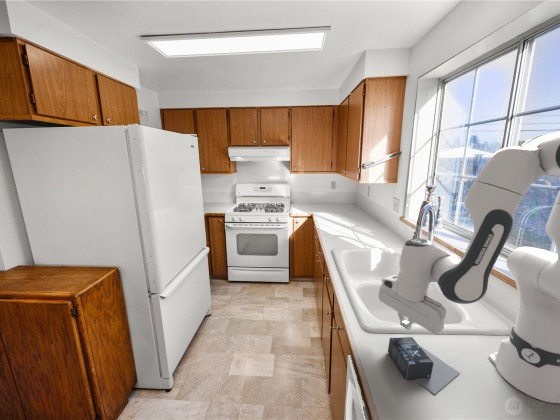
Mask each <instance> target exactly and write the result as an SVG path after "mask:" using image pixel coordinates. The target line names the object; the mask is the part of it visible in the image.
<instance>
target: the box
mask: <svg viewBox="0 0 560 420" xmlns="http://www.w3.org/2000/svg"><path fill="white" fill-rule="evenodd" d="M421 347H422V346H421ZM421 347H420V345H419V344H418V342H417V341H416V340H415V339H414V338H413V336H411V337H410V336H408V337H406V336H405V337H389V341H388V347H387V352H388V355H390V356H389V357H391V359H392V360H393V362H394V363H395V365H396V367H397V368H398V370H399V371H400V373H401V374H402V376H403V377H404V379H405V380H415V379H418V378H431V373H432V369H433V362H432V361H431V359H430V358H429V357H428V356H427V355H426V353H425V352H424V351H423V350H422V349H421Z"/></svg>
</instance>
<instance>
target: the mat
mask: <svg viewBox="0 0 560 420" xmlns="http://www.w3.org/2000/svg"><path fill="white" fill-rule="evenodd" d="M419 346H420V345H419ZM420 347H421V349H422V350H423V351H424V352H425V353H426V355H427V356H428V357H429V358H430V359H431V361H432V362H433V369H432V373H431V378H418V379H414V380H415V381H416V382H418V383H419V384H420V385H421V386H423V387H424V388H425V389H426V390H427V391H429V392H430V393H431V394H432V395H434V396H436V394H438V393H439V392H440V391H442V390H443V389H444V388H445V387H446V386H447V385H449V383H451V382H452V381H453V380H455V378H457V376H459V375H460V374H461V372H459V371H458V370H456V369H455V368H453V367H452V366H451V365H449V364H448V363H446V362H444V361H443V360H442V359H441V358H439V357H438V356H436V355H434V354H433V353H432V352H430V351H428V350H427V349H425V348H424V347H423V346H420Z"/></svg>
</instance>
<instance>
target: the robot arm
mask: <svg viewBox="0 0 560 420" xmlns="http://www.w3.org/2000/svg"><path fill="white" fill-rule="evenodd" d="M542 176H548V177H557V179H558V182H560V131H558V132H557V131H556V132H553V133H549V134H543V135H539V136H535V137H533V138H531V139H528V140H527V141H526V142H524V143H522V144H521V145H520V146H508V147H503V148H501V149H499V150H497V151H496V152H495V153H494V154H493V155H492V156H491V157H490V158H489V159H488V161H487V162H486V163H485V164H484V165H483V167H482V168H481V170H480V171H479V172H478V174H477V176H476V178H475V179H474V180H473V182H472V184H471V186H470V188H469V189H468V192H467V194H466V197H465V201H464V205H465V208H466V211H467V212H468V214H469V216H470V218H471V219H472V223H473V229H474V230H473V235H472V237H471V239H470V241H469V244H468V246H467V247H466V249H465V252H464V253H463V256H462V257H460V256H459V255H457V254H456V253H455V252H452V251H449V250H446V249H443V248H441V247H439V246H438V245H436V244H435V243H434V242H433V241H431V240H429V239H426V238H411V239H408V240H407V241H406V242H405V243H404V244H403V247H402V250H401V253H400V257H399V263H398V266H399V272H398V274H391V275H388V276H385V277H384V278H382V279H381V285H380V286H379V290H378V295H377V297H378V299H379V301H380V302H381V303H382V304H384V305H386V306H388V307H390V308H391V309H393V310H394V311H396V312H397V316H398V320H399V326H401V327H402V328H404V329H406V330H407V331H410V330H411V329H412V326H413V324H414V323H415V324H417V325H418V326H420V327H422V328H424V329H425V330H427V332H430V333H432V334H434V335H436V334H440V333H441V332H443V330H444V329H445V328H444V327H445V319H446V315H447V310H446V308H445V307H444V305H443V304H442V303H441V302H439V301H436V300H435V299H433V298H431V297H429V296H428V293H429V288H430V284H431V282H432V283H436V284H437V285H438V287H439V289H440V291H441V293H442V295H443V296H444V298H446V299H447V300H449V301H450V302H453V303H455V304H459V305H468V304H473V303H476V302H479V301H480V300H481V299H482V298H483V297H484V296H485V295H486V293H487V290H488V285H489V278H490V274H491V272H492V270H493V269H494V266H495V264H496V262H497V260H498V258H499V256H500V254H501V252H502V250H503V249H504V246H505V244H506V242H507V240H508V238H509V235H510V234H511V232H512V227H513V224H514V221H513V220H514V217H515V215H516V211H517V209H518V207H519V206H520V204H521V202H522V201H523V199H524V197H525V196H526V194H527V192H528V191H529V189H530V187H531V185H533V184H534V182H535V181H536V180H538V179H539V178H541V177H542ZM545 232H546V235H547V236H548V237H549V238H550V239H551V241H552V242H553V243H554V245H555V248H556V253H555V252H552V251H549V250H548V249H543V248H539V247H538V248H537V247H533V246H532V247H531V246H520V247H517V248H515V249H513V250H512V251H511V252H510V253H509V255H508V256H507V259H506V267H507V269H508V271H509V273H511V275H512V277H513V279H514V281H515V285H516V289H517V295H518V311H517V316H516V319H515V324H514V326H513V327H512V328H511V330H510V332H509V337H508V338H505V339H502V340H501V341H500V344H499V347H498V350H497V351H495V352H493V353H490V354H489V355H488V359H489V360H490V361H491V363H492V364H493V365H495V367H496V370H497V371H498V373H499V374H500V376H501V377H502V378H503V379H504V380H506V382H507V383H509V384H510V385H511V386H513V387H514V388H515V389H517V390H519V391H521V392H522V393H525V394H526V395H527V396H529V397H532V398H534V399H537V400H540V401H542V402H546V403H553V404H560V190H559V191H558V193H557V196H556V198H555V199H554V203H553V206H552V208H551V212H550V214H549V217H548V220H547V222H546V225H545ZM406 318H407V319H408V320H406Z"/></svg>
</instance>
